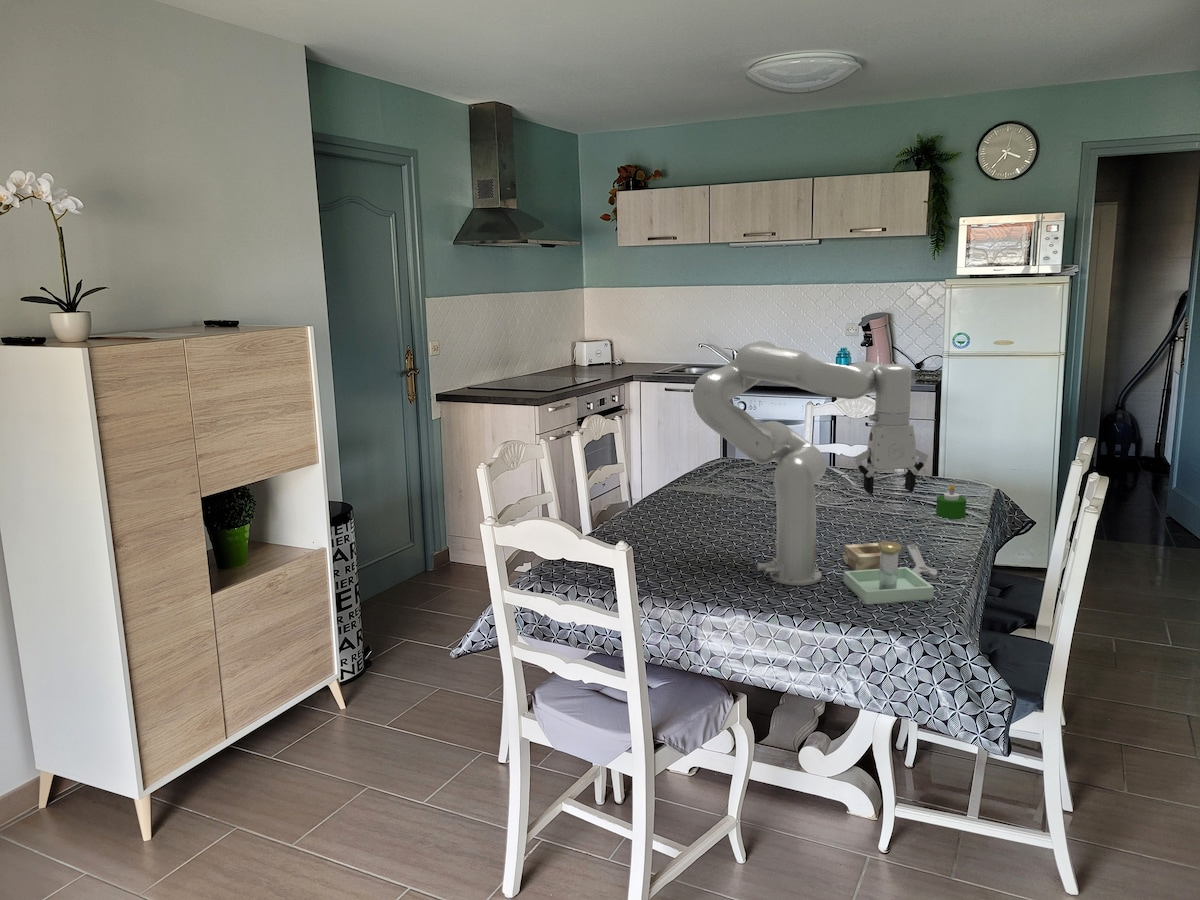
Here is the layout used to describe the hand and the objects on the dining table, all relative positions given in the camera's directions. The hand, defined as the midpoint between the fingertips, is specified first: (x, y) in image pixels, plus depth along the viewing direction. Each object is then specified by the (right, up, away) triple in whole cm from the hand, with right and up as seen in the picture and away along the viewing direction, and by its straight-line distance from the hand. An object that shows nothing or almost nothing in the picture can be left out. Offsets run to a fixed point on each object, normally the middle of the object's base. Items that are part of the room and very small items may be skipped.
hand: (889, 491), depth 203 cm
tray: (+1, -24, +5) cm, 24 cm away
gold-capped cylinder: (+1, -23, +5) cm, 24 cm away
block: (+2, -20, +22) cm, 30 cm away
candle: (+39, -11, +62) cm, 74 cm away
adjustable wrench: (+16, -20, +22) cm, 34 cm away
